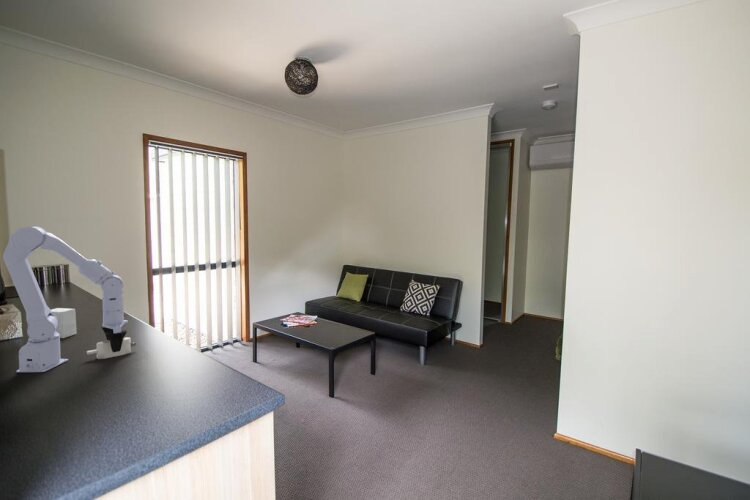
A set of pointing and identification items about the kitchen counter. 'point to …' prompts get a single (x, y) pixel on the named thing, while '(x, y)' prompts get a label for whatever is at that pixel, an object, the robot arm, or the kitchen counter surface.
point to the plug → (106, 351)
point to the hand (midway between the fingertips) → (114, 348)
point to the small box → (65, 321)
